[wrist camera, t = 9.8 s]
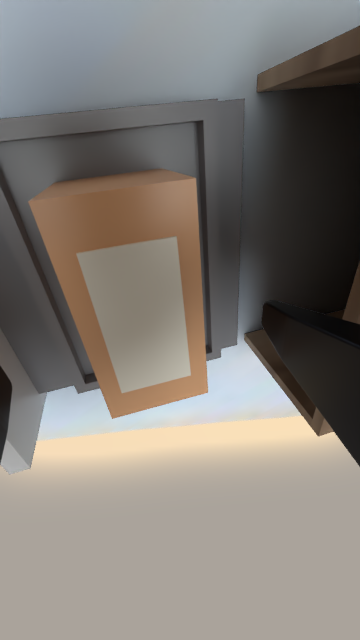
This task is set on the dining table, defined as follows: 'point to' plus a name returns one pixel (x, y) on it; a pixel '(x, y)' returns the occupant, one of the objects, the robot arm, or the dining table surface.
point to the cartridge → (131, 281)
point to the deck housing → (337, 69)
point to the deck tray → (93, 161)
